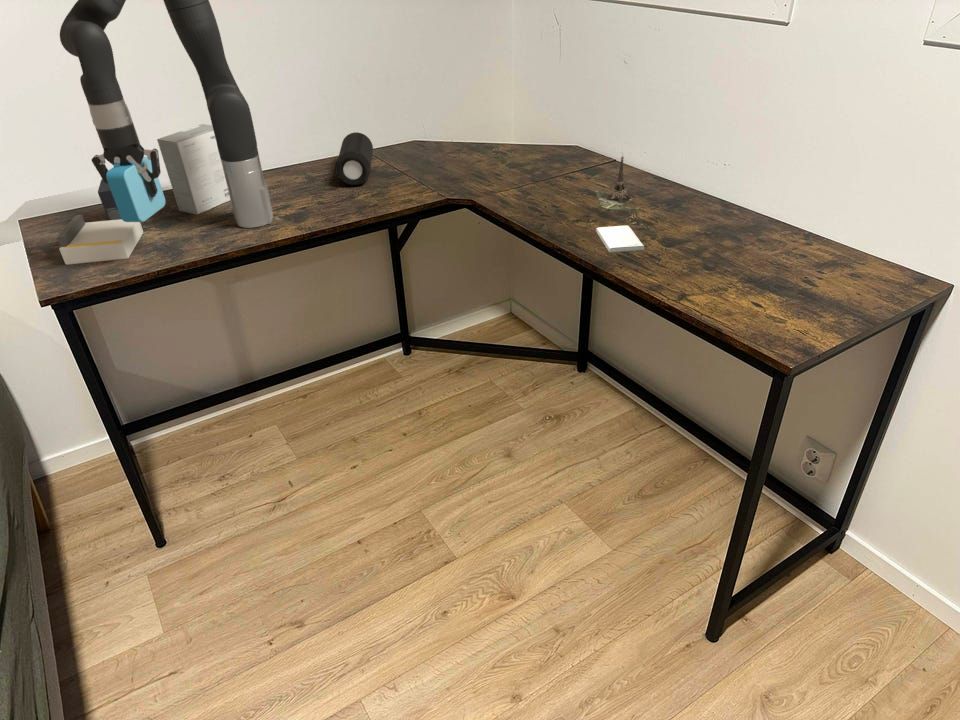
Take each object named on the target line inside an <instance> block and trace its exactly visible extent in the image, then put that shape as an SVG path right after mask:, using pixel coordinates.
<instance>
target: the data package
mask: <svg viewBox="0 0 960 720" xmlns="http://www.w3.org/2000/svg"><path fill="white" fill-rule="evenodd" d="M143 163H145V164H146V166H147V168H148V169H149V170H150V172H151V173H152V165H151V160H149V159H148V157H147V156H144V157H143V160H142V162H141V164H140V166H141V167H143ZM135 165H136V164H135ZM135 165H123V166H120V167H114V166H113V167H112V168H110V169H108V171H107V174H106V178H107V181H108V184H109V187H110V189H111V192H112V195H113V198H114V200H115V203H116V206H117V208H118V211H119V214H120V216H121V219H122V220H123V221H124V222H140V223H144V222H146V221H147V220H148V219H150V218H151V217H152V216H154V215H155V214H156V213H157V212H159V211H160V210H161V209H163V208H164V207H165V205H166V197H165V195H164V191H163V189H162V186H161V182H160V180H159V179H160V178H159V177H158V178H155V179H154V181H155V184H156V187H157V190H158V191H157V194H156V196H155V197H151V196H150V193H149V190H148V187H147V184H146V180H145V178H144V177H143V176H142V175H141V174H139V172H138V171H137V169H136V167H135Z"/></svg>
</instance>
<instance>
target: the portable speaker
mask: <svg viewBox="0 0 960 720" xmlns="http://www.w3.org/2000/svg"><path fill="white" fill-rule="evenodd" d="M373 154H374V146H373V143H372V141H371V139H370V138H369V137H368V136H367V135H366V134H364V133H361V132H358V131H357V132H355V131H354V132H351V133H348V134H346V136H345V137H343V141H342V142H341V145H340V150H339V154H338V156H337V161H336V163H335V171H336V174H337V177H339V179H340V180H341V181H342V182H343V183H345V184H347V185H349V186H358V185H362V184H363V183H365V182H366V181H367V180H368V178H369V176H370V173H371V169H372V168H371V167H372V162H373V161H372V160H373Z"/></svg>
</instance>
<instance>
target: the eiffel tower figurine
mask: <svg viewBox="0 0 960 720" xmlns="http://www.w3.org/2000/svg"><path fill="white" fill-rule="evenodd" d="M624 158H625V157H624V154H623V153H622V155H621V157H620V165H619V170H618V177H617V180H616V182H615V183H616V184H615V186H614V188H613V189H612V191H611V193H610V194H609V195H608V197H606V198H605V197H602V196H603V195H604V194H607V192H606V191H604V190H595V195H596V198H597V199H598V202H599V204H600V207H601V208H604V209H608V210H622V211H630V210H640V207H631V206H630V207H629V206H623V205H624V204H627V203H630V202H631V201H633V200H634V199H633V198H632V197H631V196H630V195H629V193H628V191H627V188H626V187H625V181H624ZM624 196H625V197H624Z"/></svg>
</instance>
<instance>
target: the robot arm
mask: <svg viewBox="0 0 960 720" xmlns="http://www.w3.org/2000/svg"><path fill="white" fill-rule="evenodd" d="M126 1H127V0H77V1H76V2H75V3H74V4H73V6H72V8H71V9H70V10H69V12H68V13H67V14H66V15H65V18H64V20H63V21H62V23H61V25H60V26H61V27H60V29H59V41H60V44H61V46H62V47H63V48H64V50H65V51H66V52H67V53H69V54H70V55H72V56H74V57H77V58H78V62H79V63H80V64H79V65H80V68H81V71H82V74H81V76H80V78H79V79H80V81H79V82H80V85H81V89H82V91H83V94H84V96H85V100H86V102H87V104H88V108H89V113H90V117H91V119H92V120H91V121H92V124H93V126H94V128H95V130H96V133H97V136H98V139H99V141H100V144H101V147H102V149H103V153H102V154H95V155H93V157H92V158H91V162H92V164H93V166H94V167H95V169H96V171H97V172H98V174H99V175H100V176H99V177H100V178H101V179H103V181H104V182H105V183H107V184H108V181H107V178H106V174H107V171H108V170H109V169H108V167H107V166H106V163H107V162H106V161H108V162H109V163H110V164H111V165H112V166H113V167H120V166H123V165H135V164H136V165H135V167H136V169H137V171H138V172H139V174H141V175H142V176H143V177H144V178H145V180H146V184H147V187H148V190H149V193H150V196H151V197H155V196H156V194H157V191H158V190H157V187H156V184H155V181H154V179H155V178H158V179H159V177H160V175H161V164H160V156H159V150H158V149H157V148H153V149H145V148H144V147H143V146H142V145H141V143H140V142H141V141H140V138H139V136H138V134H137V130H136V127H135V124H134V121H133V119H132V115H131V113H130V110H129V107H128V105H127V103H126V101H125V99H124V96H123V93H122V90H121V87H120V84H119V81H118V79H117V78H118V77H117V73H116V65H115V59H114V52H113V47H112V44H111V40H110V39H109V37H108V35H107V33H106V31H105V30H106V27H107V25H109V23H111V22H113V21H115V20H117V18H118V17H119V15H120V14H121V12H122V10H123V8H124V5H125V4H126ZM162 1H163V4H164V6H165V8H166V10H167V14H168V16H169V18H170V20H171V24H172V27H173V28H174V30H175V32H176V35H177V36H178V39H179V40H180V42H181V44H182V47H183V48H184V50H185V52H186V53H187V55H188V58H189V59H190V61H191V63H192V64H193V66H194V68H195V70H196V73H197V75H198V79H199V81H200V84H201V88H202V92H203V94H204V97H205V98H204V99H205V101H206V107H207V111H208V115H209V118H210V122H211V125H212V126H213V130H214V134H215V138H216V142H217V147H218V151H219V155H220V159H221V163H222V167H223V171H224V175H225V179H226V183H227V187H228V191H229V195H230V199H231V200H230V204H231V206H232V211H233V215H234V219H235V223H236V225H237V226H238V227H241V228H245V229H246V228H247V229H248V228H249V229H250V228H257V227H262V226H265V225H269V224H270V225H271V224H272V223H273V218H274V212H273V209H272V203H271V198H270V195H269V189H268V185H267V181H266V180H265V177H264V173H263V168H262V164H261V159H260V155H259V154H260V153H259V150H258V143H257V137H256V131H255V128H254V121H253V118H252V117H253V116H252V112H251V109H250V106H249V103H248V101H247V99H246V98H245V97H244V94H243V93H242V91H241V90H240V87H239V86H238V84H237V81H236V80H235V78H234V75H233V74H232V73H233V72H232V70H231V69H230V66H229V64H228V61H227V59H226V54H225V50H224V45H223V41H222V37H221V32H220V29H219V25H218V22H217V19H216V16H215V14H214V11H213V8H212V6H211V2H210V0H162ZM143 157H148V159H149V160H151V165H152V173H151V172H150V170H149V169H148V168H147V166H146V164H145V163H143V167H141V166H140V164H141V162H142V160H143Z"/></svg>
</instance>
